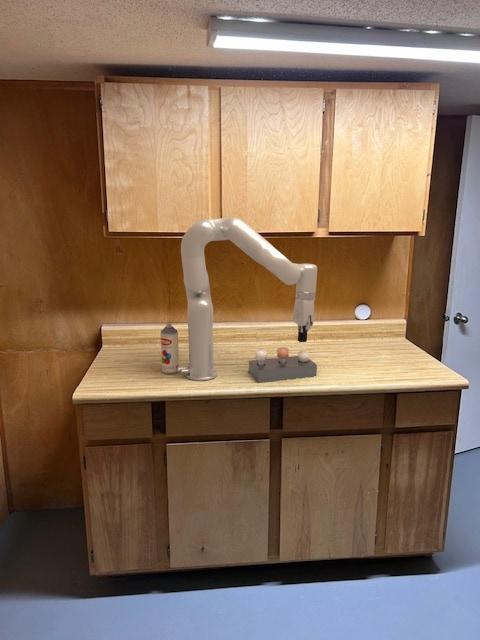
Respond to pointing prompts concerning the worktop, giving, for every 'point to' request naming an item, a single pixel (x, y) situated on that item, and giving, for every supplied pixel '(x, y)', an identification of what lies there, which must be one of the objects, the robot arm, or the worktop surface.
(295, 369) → the knob panel
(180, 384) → the worktop surface
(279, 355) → the middle knob
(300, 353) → the far knob
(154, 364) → the worktop surface
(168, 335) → the aerosol can
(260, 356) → the near knob
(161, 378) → the worktop surface
